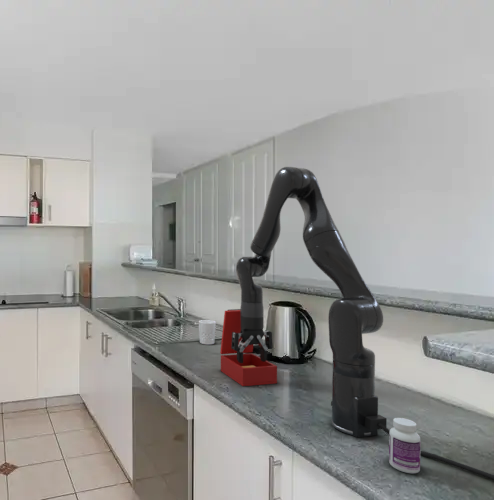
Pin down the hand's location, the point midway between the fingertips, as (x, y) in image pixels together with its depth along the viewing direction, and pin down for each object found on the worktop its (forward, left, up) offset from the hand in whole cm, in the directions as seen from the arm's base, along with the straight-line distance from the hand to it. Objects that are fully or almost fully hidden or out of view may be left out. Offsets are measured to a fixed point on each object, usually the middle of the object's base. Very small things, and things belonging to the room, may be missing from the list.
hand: (252, 361), depth 135 cm
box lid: (+8, 0, +8) cm, 12 cm away
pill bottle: (-54, -3, -6) cm, 55 cm away
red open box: (+3, 0, -6) cm, 7 cm away
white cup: (+49, -6, -6) cm, 50 cm away
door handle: (+23, -18, -6) cm, 30 cm away
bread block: (0, 0, -5) cm, 5 cm away
